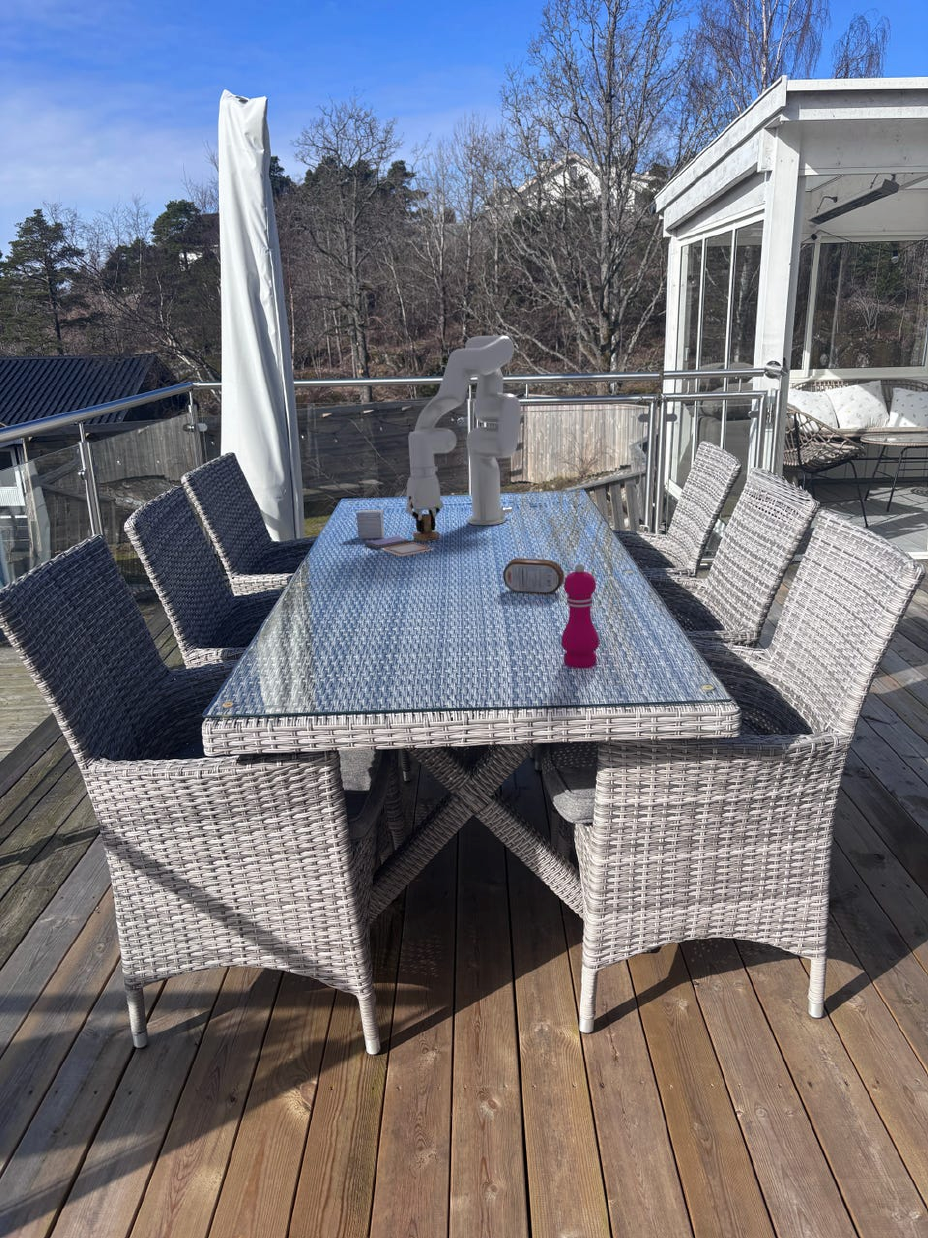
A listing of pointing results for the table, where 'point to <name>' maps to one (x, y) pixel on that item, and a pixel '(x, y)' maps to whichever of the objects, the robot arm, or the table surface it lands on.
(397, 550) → the cream card
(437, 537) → the stamp
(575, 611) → the pepper mill
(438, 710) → the table surface
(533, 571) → the tin
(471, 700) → the table surface
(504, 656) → the table surface
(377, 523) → the medicine box
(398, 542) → the ink pad
